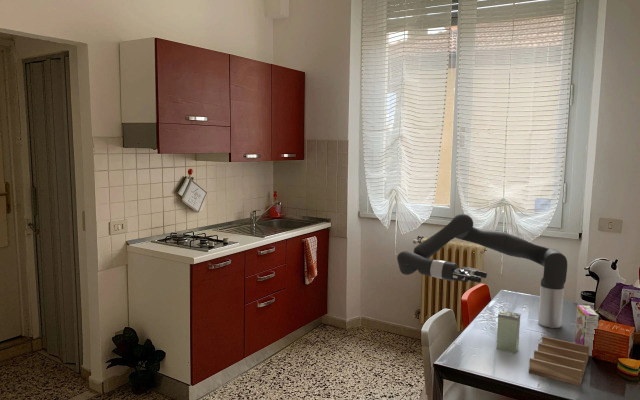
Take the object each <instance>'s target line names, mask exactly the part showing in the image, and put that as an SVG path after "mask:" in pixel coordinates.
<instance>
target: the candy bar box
mask: <svg viewBox="0 0 640 400" xmlns="http://www.w3.org/2000/svg"><path fill="white" fill-rule="evenodd" d="M575 315H576V316H575V328H574V329H575V331H574V342H573V343H576V344H581V345H586V346H589V357H593V356H592V350H593V340H594V334H595V330H594V329H597V328H598V329H599V323H600V322H599V321H600V315H599V314H598V312H596V311H595V309H593V307H591V306H590V305H585V304H584V305H583V304H576V313H575Z"/></svg>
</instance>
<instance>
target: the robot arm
mask: <svg viewBox="0 0 640 400" xmlns="http://www.w3.org/2000/svg"><path fill="white" fill-rule="evenodd" d="M454 239H457V240H461V241H466V242H469V243H473V244H477V245H479V246H483V247H484V248H488V249H490V250H493V251H495V252H498V253H501V254H503V255H506V256H510V257H514V258H519V259H521V258H522V259H525V260H529V261H532V262H534V263H537V264H538V265H540V266H543V276H542V278H541V280H540V286H539V287H540V289H539V290H540V291H539V304H538V305H539V306H538V307H539V308H538V319H537V323H538V324H539V325H540V326H542V327H546V328H551V329H559V328H561V327H562V317H563V305H564V291H565V290H564V289H565V283H566V280H567V273H568V259H567V257H566V256H565V255H564V254H563V253H562V252H560V251H559V250H558V249H557V250H556V249H554V248H550V247H545V246H541V245H537V244H534V243H532V242H530V241H528V240H526V239H523V238H521V237H519V236H517V235H514V234H510V233H509V232H505V231H502V230H501V231H500V230H494V229H493V230H489V229H481V228H478V227H474V220H473V218H472V217H471V216H470V215H468V214H466V213H459V214H457V215H455V216H454V217H453V218H452V220H450V222H449V223H448V224H446V225H445V226H444V227H443V228H441V229H440V230H439V231H437V232H436V233H434V234H433V235H431V236H430V237H428V238H427V239H425V240H424V241H423V242H420V243H419V244H418V245H416V246H415V247H414V249H413V252H412V251H408V250H405V251H401V252H399V253H398V254H397V256H396V257H397V258H396V259H397V264H398V268H399V271H400V273H401V274H402V275H405V276H409V275H412V274H414V273H415V272H419V274H421V275H424V276H429V277H433V278H436V279H441V280H444V281H450V282H453V281H458V282H463V283H468V282H470V283H471V282H474V283H479V284H480V283H482V278H483V279H486V278H487V277H488V273H487V272H486V271H483V270H481V271H480V270H478V268H473V267H468V266H462V267H458V264H457V262H452V261H448V260H441V259H432V256H433V255H435V254H436V253H439V251H440V250H441V249H442V248H444V246H446V245H447V244H448V243H449V242H450V241H452V240H454Z"/></svg>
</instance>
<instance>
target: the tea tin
mask: <svg viewBox="0 0 640 400" xmlns="http://www.w3.org/2000/svg"><path fill="white" fill-rule="evenodd" d="M521 315H522V314H521V313H516V312H510V311H507V310H500V311H499V313H497V328H496V329H497V333H496V350H500V351H504V352H507V353H512V354H516V353H517V352H518V350H519V345H520V344H519V340H520V326H521Z"/></svg>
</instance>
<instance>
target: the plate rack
mask: <svg viewBox="0 0 640 400" xmlns="http://www.w3.org/2000/svg"><path fill="white" fill-rule="evenodd" d="M589 357H590V356H589V346H586V345H581V344H576V343H574V342H572V341H571V342H570V341H566V340H561V339H557V338H552V337H547V336H542V337H541V343H540V342H538V345H537V350H533V358H532V357H529V362H528V363H529V365H528V373H529V374H532V375H536V376H539V377H544V378H548V379H552V380H555V381H560V382H563V383H567V384H571V385H576V386H579V387H580V386H581V385H582V381H583V378H584V375H585V371H586V368H587V364H588V361H589Z"/></svg>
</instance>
